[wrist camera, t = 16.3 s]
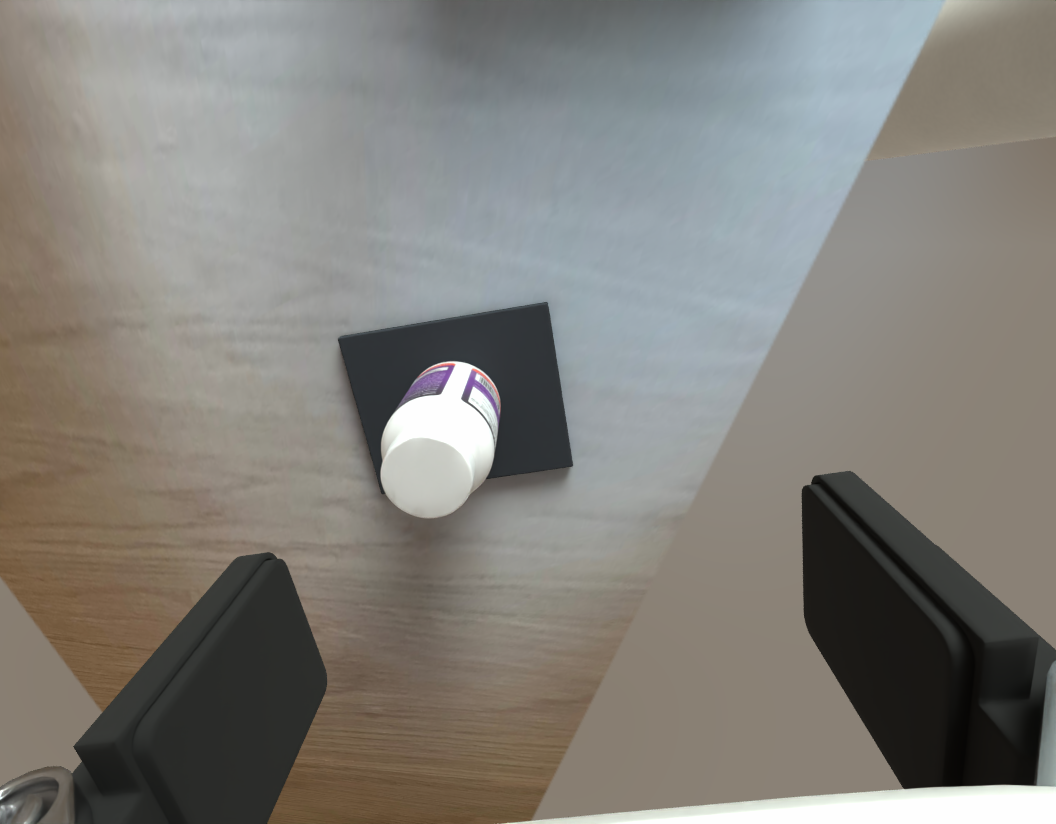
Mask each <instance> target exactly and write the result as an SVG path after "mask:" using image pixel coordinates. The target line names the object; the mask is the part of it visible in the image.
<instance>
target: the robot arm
mask: <svg viewBox="0 0 1056 824" xmlns="http://www.w3.org/2000/svg"><path fill="white" fill-rule="evenodd" d="M802 534H803V535H802V536H803V595H804V596H803V597H804V618H805V623H806V626H807V629H808V631H809V634H810V635H811V637H812V639H813V641H814V642H815V644H816V646H817V647H818V649H819V651H820V652H821V654H822V655H823V657H824V659H825V660H826V662H827V664H828V665H829V667H830V668H831V670H832V672H833V673H834V675H835V677H836V678H837V680H838V682H839V683H840V685H841V687H842V688H843V690H844V691H845V693H846V695H847V696H848V698H849V700H850V701H851V703H852V705H853V706H854V708H855V710H856V711H857V713H858V715H859V716H860V718H861V720H862V721H863V723H864V724H865V726H866V728H867V729H868V731H869V732H870V734H871V736H872V737H873V739H874V741H875V742H876V744H877V746H878V747H879V749H880V751H881V752H882V754H883V756H884V757H885V759H886V761H887V762H888V764H889V765H890V767H891V769H892V770H893V772H894V774H895V775H896V777H897V779H898V780H899V782H900V784H901V785H902V787H903V788H904V789H901V790H888V791H887V790H886V791H872V792H859V793H844V794H831V795H816V796H802V797H791V798H780V799H768V800H757V801H745V802H735V803H723V804H712V805H701V806H689V807H678V808H666V809H655V810H644V811H633V812H621V813H610V814H599V815H590V816H589V815H588V816H578V817H567V818H557V819H546V820H535V821H525V822H514V823H503V824H1056V650H1055V649H1054V648H1053V647H1052V646H1051V645H1050V644H1048V643H1047V642H1046V641H1045V640H1044V639H1043V638H1042V637H1041V636H1039V635H1038V634H1037V633H1036V632H1035V631H1034V630H1033V629H1032V628H1030V627H1029V626H1028V625H1027V624H1026V623H1025V622H1024V621H1022V620H1021V619H1020V618H1019V617H1018V616H1017V615H1016V614H1014V613H1013V612H1012V611H1011V610H1010V609H1009V608H1008V607H1007V606H1005V605H1004V604H1003V603H1002V602H1001V601H1000V600H999V599H997V598H996V597H995V596H994V595H993V594H992V593H991V592H990V591H988V590H987V589H986V588H985V587H984V586H982V584H980V583H979V582H978V581H977V580H976V579H975V578H973V576H971V575H970V574H969V573H968V572H967V571H965V569H963V568H962V567H961V566H960V565H959V564H958V563H957V562H956V561H954V560H953V559H952V558H951V557H950V556H949V555H948V554H946V553H945V552H944V551H943V550H942V549H941V548H940V547H938V546H937V545H935V544H934V543H932V541H930V540H929V539H928V538H927V537H926V536H925V535H924V534H923V533H921V532H920V531H919V530H918V529H917V528H916V527H915V526H913V525H912V524H911V523H910V522H909V521H908V520H906V519H905V518H904V517H903V516H902V515H901V514H900V513H899V512H898V511H896V510H895V509H894V508H893V507H892V506H891V505H890V504H889V503H887V502H886V501H885V500H884V499H883V498H881V496H879V495H878V494H877V493H876V492H875V491H874V490H873V489H872V488H870V487H869V486H868V485H867V484H866V483H865V482H864V481H862V480H861V479H860V478H859V477H858V476H857V475H856V474H855V473H853V472H851V471H845V472H838V473H831V474H824V475H817V476H814V477H813V479H812V482H811V485H807V486H804V487H803V489H802ZM326 687H327V673H326V669H325V666H324V664H323V661H322V658H321V656H320V653H319V650H318V648H317V645H316V642H315V640H314V637H313V634H312V632H311V629H310V626H309V624H308V621H307V618H306V616H305V613H304V610H303V607H302V605H301V602H300V599H299V597H298V594H297V591H296V589H295V586H294V583H293V581H292V578H291V575H290V573H289V570H288V567H287V565H286V563H285V562H284V561H283V560H282V559H277V557H276V556H275V555H274V554H272V553H270V552H268V553H260V554H253V555H246V556H240V557H237V558H236V559H235V560H234V561H233V562H232V563H231V564H230V565H229V566H228V568H227V569H226V570H225V571H224V572H223V573H222V575H221V576H220V577H219V578H218V579H217V580H216V582H215V583H214V584H213V585H212V586H211V587H210V588H209V590H208V591H207V592H206V593H205V594H204V595H203V597H202V598H201V599H200V600H199V601H198V602H197V604H196V605H195V606H194V607H193V608H192V609H191V611H190V612H189V613H188V614H187V615H186V616H185V617H184V619H183V620H182V621H181V622H180V623H179V624H178V626H177V627H176V628H175V629H174V630H173V631H172V633H171V634H170V635H169V636H168V637H167V638H166V640H165V641H164V642H163V643H162V644H161V645H160V647H159V648H158V649H157V650H156V651H155V652H154V653H153V655H152V656H151V657H150V658H149V659H148V660H147V662H146V663H145V664H144V665H143V666H142V667H141V669H140V670H139V671H138V672H137V673H136V674H135V676H134V677H133V678H132V679H131V680H130V681H129V682H128V684H127V685H126V686H125V687H124V688H123V689H122V691H121V692H120V693H119V694H118V695H117V696H116V698H115V699H114V700H113V701H112V702H111V703H110V705H109V706H108V707H107V708H106V709H105V710H104V711H103V713H102V714H101V715H100V716H99V717H98V718H97V720H96V721H95V722H94V723H93V724H92V725H91V727H90V728H89V729H88V730H87V731H86V732H85V734H84V735H83V736H82V737H81V738H80V739H79V741H78V742H77V743H76V744H75V745H74V746H73V747H74V749H75V750H76V752H77V754H78V755H79V757H80V759H81V760H82V762H81V763H80V765H79V766H78V767H77V768H76V769H75V771H74V772H73V773H71V771H69V770H68V769H66V768H64V767H61V766H53V767H44V768H41V769H37V770H34V771H30V772H28V773H26V774H24V775H21V776H19V777H17V778H15V779H13V780H11V781H9V782H7V783H6V784H4V785H2V786H1V787H0V824H267V822H268V820H269V818H270V815H271V813H272V811H273V809H274V806H275V804H276V802H277V800H278V797H279V795H280V793H281V791H282V788H283V786H284V784H285V782H286V779H287V777H288V775H289V773H290V770H291V768H292V766H293V764H294V762H295V759H296V757H297V755H298V753H299V750H300V748H301V746H302V744H303V741H304V739H305V737H306V735H307V732H308V730H309V728H310V726H311V723H312V721H313V719H314V717H315V714H316V712H317V710H318V708H319V705H320V703H321V701H322V699H323V696H324V694H325V691H326Z"/></svg>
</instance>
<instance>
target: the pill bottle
mask: <svg viewBox="0 0 1056 824" xmlns="http://www.w3.org/2000/svg"><path fill="white" fill-rule="evenodd" d="M500 414H501V403H500V397H499V393H498V391H497V388H496V386H495V385H494V383H493V382H492V380H491V379H490V378H489V377H488V376H487V375H486V374H485V373H484V372H483V371H481V370H480V369H478V368H476V367H475V366H473V365H470V364H467V363H463V362H455V361H451V362H443V363H439V364H436V365H434V366H431V367H430V368H428V369H426V370H425V371H424V372H422V373H421V374H420V375H419V376H418V378H417V379H416V380H415V381H414V383H413V384H412V385H411V387H410V389H409V390H408V392H407V393H406V395H405V396H404V398H403V399H402V401H401V402H400V404H399V405H398V407H397V408H396V410H395V411H394V413H393V414H392V416H391V417H390V419H389V421H388V423H387V425H386V427H385V429H384V432H383V435H382V440H381V454H382V460H383V462H382V466H381V483H382V486H383V489H384V491H385V493H386V495H387V497H388V498H389V499H390V501H391V502H392V503H393V504H394V505H395V506H396V507H398V508H399V509H400V510H402V511H404V512H405V513H408V514H410V515H413V516H416V517H420V518H438V517H443V516H446V515H449V514H451V513H453V512H454V511H456V510H457V509H458V508H460V507H461V506H462V505H463V504H464V502H465V501H466V500H467V498H468V496H469V494H471V493H472V492H473V491H475V490H476V489H477V488H478V487H479V486H480V485H481V484H482V483H483V482H484V480H485V479H486V477H487V476H488V474H489V472H490V469H491V467H492V463H493V459H494V455H495V448H496V442H497V434H498V428H499V421H500Z"/></svg>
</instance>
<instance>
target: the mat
mask: <svg viewBox="0 0 1056 824" xmlns="http://www.w3.org/2000/svg"><path fill="white" fill-rule="evenodd" d="M338 341H339V344H340V348H341V352H342V355H343V359H344V362H345V366H346V369H347V373H348V376H349V380H350V383H351V387H352V390H353V394H354V398H355V401H356V405H357V408H358V412H359V415H360V419H361V422H362V426H363V429H364V433H365V436H366V440H367V444H368V447H369V451H370V454H371V458H372V461H373V465H374V468H375V472H376V475H377V479H378V482H379V486H380V490H381V493H382V494H386V493H385V491H384V489H383V486H382V483H381V466H382V462H383V460H382V454H381V440H382V435H383V432H384V429H385V427H386V425H387V423H388V421H389V419H390V417H391V416H392V414H393V413H394V411H395V410H396V408H397V407H398V405H399V404H400V402H401V401H402V399H403V398H404V396H405V395H406V393H407V392H408V390H409V389H410V387H411V385H412V384H413V383H414V381H415V380H416V379H417V378H418V376H419V375H420V374H421V373H422V372H424V371H425V370H426V369H428V368H430V367H431V366H434V365H436V364H439V363H443V362H451V361H455V362H463V363H467V364H470V365H473V366H475V367H476V368H478V369H480V370H481V371H483V372H484V373H485V374H486V375H487V376H488V377H489V378H490V379H491V380H492V382H493V383H494V385H495V386H496V388H497V391H498V393H499V397H500V403H501V414H500V421H499V428H498V434H497V442H496V448H495V455H494V459H493V463H492V467H491V469H490V472H489V474H488V476H487V477H486V479H490V478H497V477H503V476H510V475H517V474H524V473H531V472H538V471H545V470H552V469H558V468H565V467H572V466H573V462H572V456H571V449H570V443H569V436H568V430H567V423H566V417H565V411H564V404H563V398H562V391H561V385H560V378H559V372H558V366H557V359H556V353H555V346H554V340H553V333H552V327H551V321H550V314H549V308H548V303H547V302H544V303H538V304H532V305H526V306H520V307H514V308H508V309H502V310H496V311H490V312H484V313H478V314H472V315H466V316H460V317H454V318H447V319H441V320H435V321H429V322H423V323H417V324H411V325H405V326H399V327H393V328H387V329H381V330H375V331H369V332H363V333H357V334H351V335H345V336H341V337H339V338H338Z"/></svg>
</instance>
